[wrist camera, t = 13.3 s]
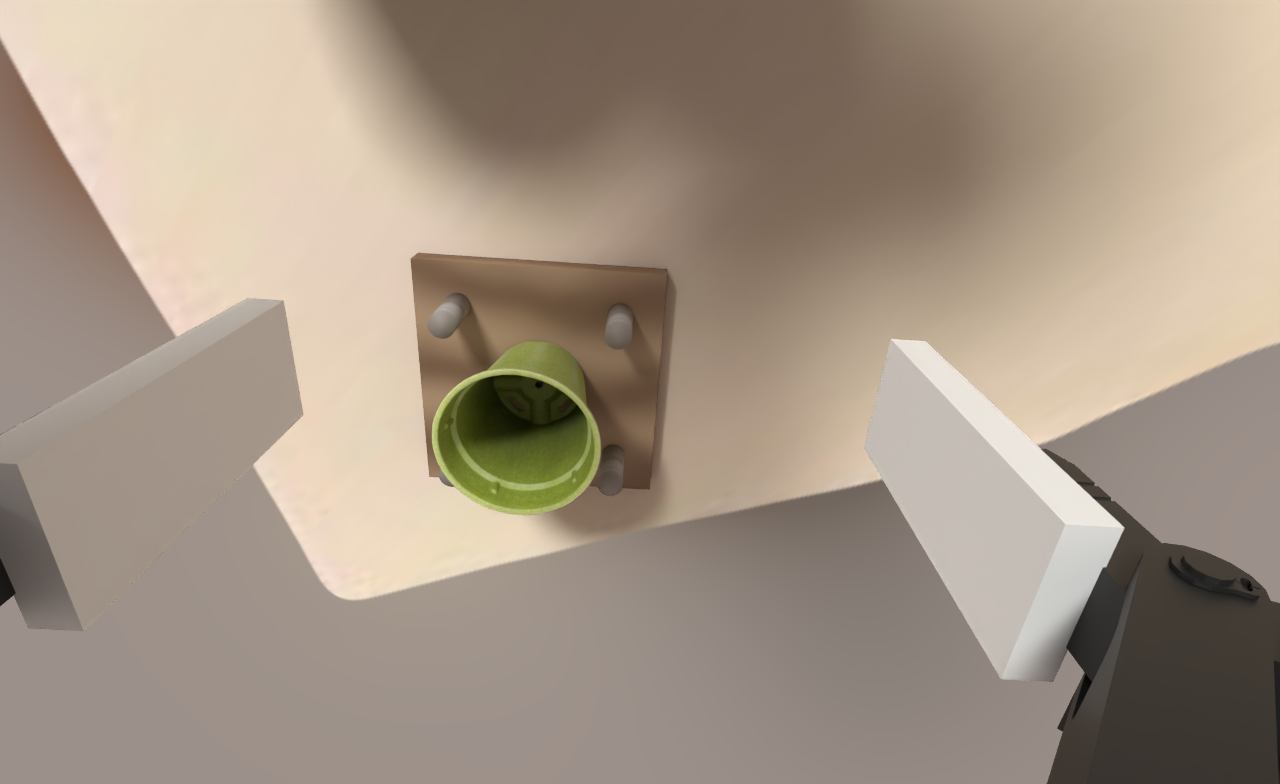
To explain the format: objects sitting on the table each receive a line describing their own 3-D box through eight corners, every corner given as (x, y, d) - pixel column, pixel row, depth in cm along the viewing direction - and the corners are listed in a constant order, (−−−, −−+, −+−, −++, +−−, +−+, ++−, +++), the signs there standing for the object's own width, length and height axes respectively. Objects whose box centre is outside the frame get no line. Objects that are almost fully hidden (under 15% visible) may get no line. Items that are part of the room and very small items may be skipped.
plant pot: (547, 466, 47) (528, 542, 40) (441, 383, 45) (397, 448, 37) (637, 380, 45) (635, 445, 37) (529, 286, 42) (502, 334, 34)
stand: (418, 253, 42) (388, 276, 37) (666, 269, 43) (669, 294, 38) (435, 465, 49) (411, 509, 44) (649, 478, 50) (649, 522, 45)
